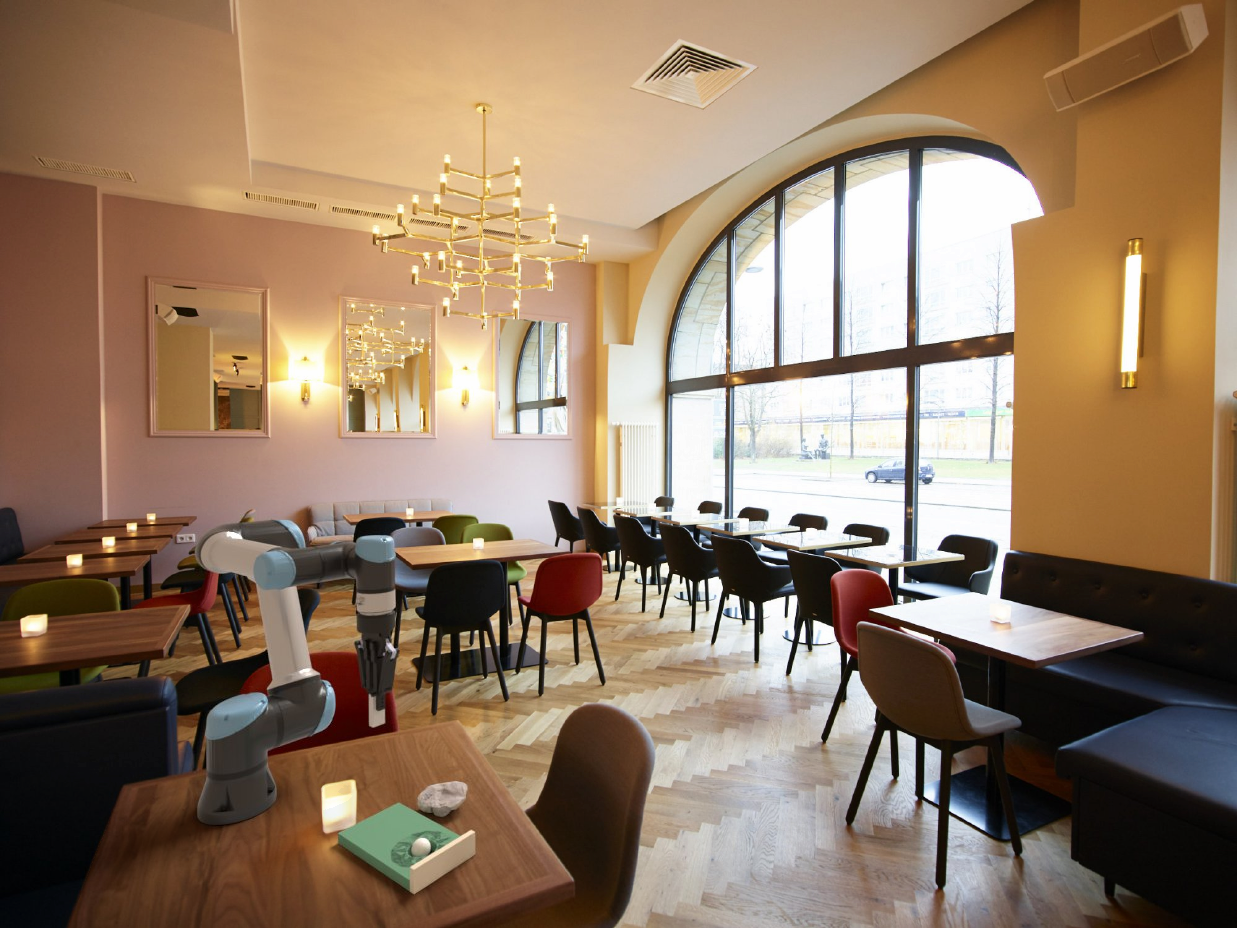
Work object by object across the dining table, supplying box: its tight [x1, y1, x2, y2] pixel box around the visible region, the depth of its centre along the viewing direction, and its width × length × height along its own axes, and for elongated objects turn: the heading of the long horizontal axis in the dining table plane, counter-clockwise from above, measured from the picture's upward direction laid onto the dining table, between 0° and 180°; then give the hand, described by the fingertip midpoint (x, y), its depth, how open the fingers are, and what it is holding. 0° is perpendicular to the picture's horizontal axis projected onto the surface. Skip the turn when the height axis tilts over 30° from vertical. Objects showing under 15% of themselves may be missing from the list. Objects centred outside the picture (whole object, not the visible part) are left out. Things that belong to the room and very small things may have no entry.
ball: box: [411, 838, 431, 858], centre depth 122 cm, size 4×4×4 cm
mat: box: [337, 802, 476, 895], centre depth 125 cm, size 25×14×4 cm, turn 53°
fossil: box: [416, 780, 469, 818], centre depth 139 cm, size 9×6×10 cm
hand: (377, 724), depth 130 cm, fingers closed
